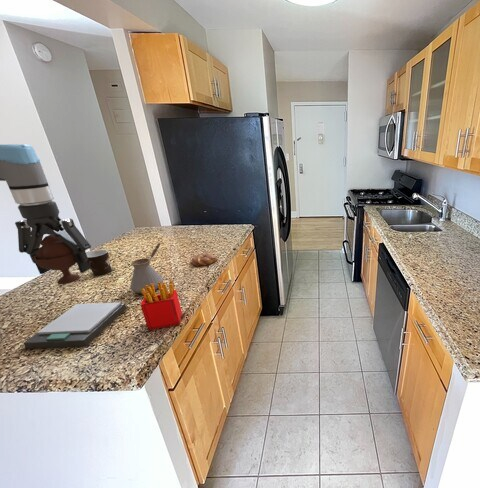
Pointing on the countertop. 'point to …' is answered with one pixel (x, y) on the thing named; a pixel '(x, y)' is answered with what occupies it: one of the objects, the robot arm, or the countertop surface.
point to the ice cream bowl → (56, 258)
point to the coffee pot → (144, 274)
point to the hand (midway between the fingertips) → (65, 271)
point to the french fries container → (161, 306)
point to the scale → (76, 326)
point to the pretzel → (203, 259)
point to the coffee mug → (99, 262)
